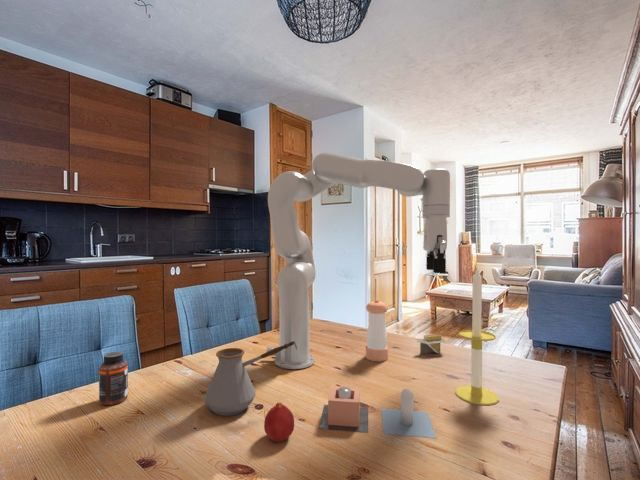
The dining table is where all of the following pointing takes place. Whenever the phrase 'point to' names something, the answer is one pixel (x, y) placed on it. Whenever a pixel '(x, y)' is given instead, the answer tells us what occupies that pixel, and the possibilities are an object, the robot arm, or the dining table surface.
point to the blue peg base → (407, 419)
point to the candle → (476, 351)
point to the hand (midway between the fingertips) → (435, 271)
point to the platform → (430, 343)
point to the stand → (363, 426)
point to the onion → (279, 423)
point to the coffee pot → (233, 381)
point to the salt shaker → (376, 332)
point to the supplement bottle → (113, 379)
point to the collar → (344, 408)
